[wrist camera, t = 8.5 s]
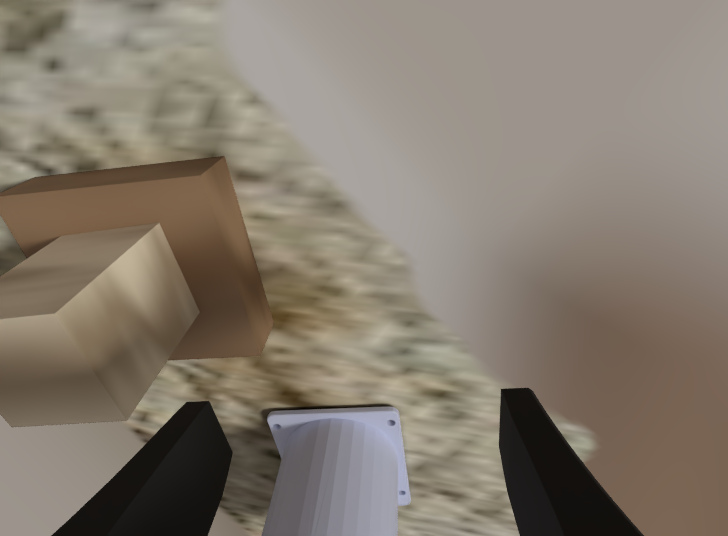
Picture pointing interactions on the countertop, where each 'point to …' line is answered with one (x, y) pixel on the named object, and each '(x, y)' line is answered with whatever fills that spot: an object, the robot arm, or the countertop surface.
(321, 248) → the countertop surface
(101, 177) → the walnut block
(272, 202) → the countertop surface
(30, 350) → the ash block
